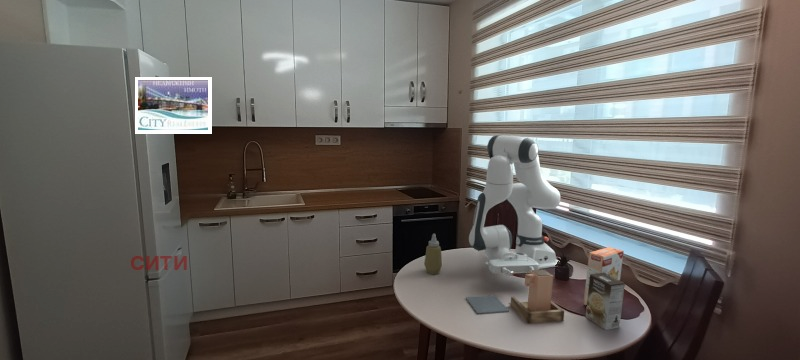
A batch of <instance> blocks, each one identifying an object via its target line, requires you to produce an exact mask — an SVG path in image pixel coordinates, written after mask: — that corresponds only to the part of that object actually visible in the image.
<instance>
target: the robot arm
mask: <svg viewBox="0 0 800 360" xmlns="http://www.w3.org/2000/svg"><path fill="white" fill-rule="evenodd" d="M538 153H539V146H538V143H537V142H536V141H535V139H532V138H529V137H523V136H518V135H502V134H496V135H493V136H491V138H490V139H489V140H488V142H487V154H488V156H489V158H490V159H489V161H488V165H487V169H486V180H485V181H486V183H485V186H484V188H483V190H482V191H481V193H479V195H478V196H477V200H476V203H475V209H474V214H473V220H472V224H471V228H470V230H469V235H468V241H469V245H470V247H471V248H472V249H474V250H475V251H478V252H480V251H484V254H485V256H486V258H487V259H488V261H486V262H484V263H485V266H487V267H488V269H489V271H490V272H491V273H492V274H494V275H500V274H501V275H503V274H504V275H507V276H508V277H513V276H514V274H525V273H526V274H530V270H543V269H546V268H547V269H548V268H554V267H556V266H555V265H556V264H557V262H558V261H559V260H558V259H557V256H556V252H555V250H554V249H552V248H551V246H549V245H548V244H547V243H545V242H549V240H550V239H549V237H547V236H544V235H543V234H542V233H543V220H542V218H541V217H540V216H539V215H538V214H536V212H535V211H534V209H533V208H535V209H542V210H554V209H556V208H557V207H558V206H559V205H560V203H561V199H562V198H561V193H560V191H559V190H558V189H557V188H555V187H554V186H552V185H551V184H550V183H549V182H548V181H547V180H546V178H545V177H544V175H543V173H542V169H541V164H540V158H539V154H538ZM513 166H514V168H513ZM514 172H515V176H516V180H517V181H518V182H517V183H514ZM506 200H507V201H508V202H509V203H510V204H511V206H512V207H513V209H514V210H515V212H516V215H517V232H516V240H515V244H516V245H515V246H516V247H515V251H512V250H511V249H512V245H513V235H512V232H511V231H510V229H509V228H508V227H507V226H506V225H504V224H498V225H497V224H496V225H490V226H485V222H486V218H487V217H486V216H487V213H488V211H489V210H491V209H492V208H494V206H496V205H498V204H500V203H503V202H504V201H506Z"/></svg>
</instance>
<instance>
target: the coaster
mask: <svg viewBox="0 0 800 360" xmlns="http://www.w3.org/2000/svg"><path fill="white" fill-rule="evenodd" d="M465 299H466V301H467V303H468V304H469V306H471V308H472V309H473V311H474V312H475V313H476V314H477V315H485V314H486V315H487V314H499V313H509V312H510V310H509V309H508V308H507V307H506V305H505V303H503V302H502V301H501V300H500V299H499V298H498V297H497V295H495V294H493V295H479V296H477V295H476V296H465Z"/></svg>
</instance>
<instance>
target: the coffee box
mask: <svg viewBox="0 0 800 360" xmlns="http://www.w3.org/2000/svg"><path fill="white" fill-rule="evenodd" d="M625 287H626V286H625V282H624V281H623V280H622V281H621V279H620V280H618V279H616V278H614V277H612V276H610V275H608V274H606V273H604V272H603V273H595V274H590V280H589V290H588V299H587V306H586V311H585V318H587V319H588V318H589V319H588V320H590V321H591V320H592V321H591V322H593V323H594V324H596V325H597V326H599V327H600V328H602V329H604V331H608V330H612V329H613V330H614V329H618V328H620V325H621V317H622V311H623V310H622V309H623V302H624V301H623V300H624V293H625Z"/></svg>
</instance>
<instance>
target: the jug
mask: <svg viewBox="0 0 800 360" xmlns="http://www.w3.org/2000/svg"><path fill="white" fill-rule="evenodd" d="M524 274H525V273H524ZM553 280H554V275H553V274H551V273H550V272H548V271H547V270H546V269H539V270H530V273H526V274H525V276H524V286H525V287H528V295H527V296H528V297H527V302H528V307H527V308H528V309H529V310H530V311H531V312H534V311H547V310H550V308H551V301H552V295H553V283H554V282H553Z"/></svg>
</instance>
